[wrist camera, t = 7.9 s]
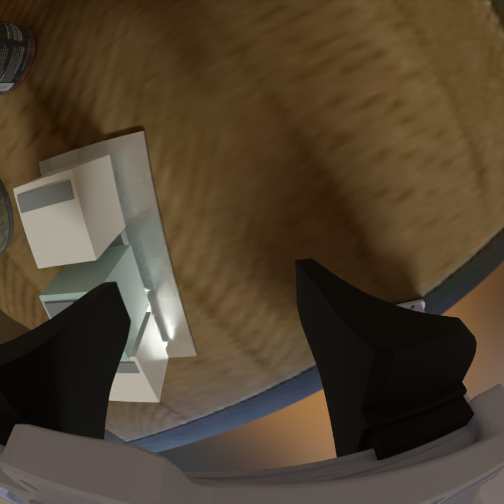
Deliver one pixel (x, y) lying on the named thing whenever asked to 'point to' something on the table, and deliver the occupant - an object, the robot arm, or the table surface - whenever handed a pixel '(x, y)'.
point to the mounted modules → (90, 253)
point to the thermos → (5, 219)
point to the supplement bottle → (15, 55)
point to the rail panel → (141, 231)
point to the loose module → (93, 274)
